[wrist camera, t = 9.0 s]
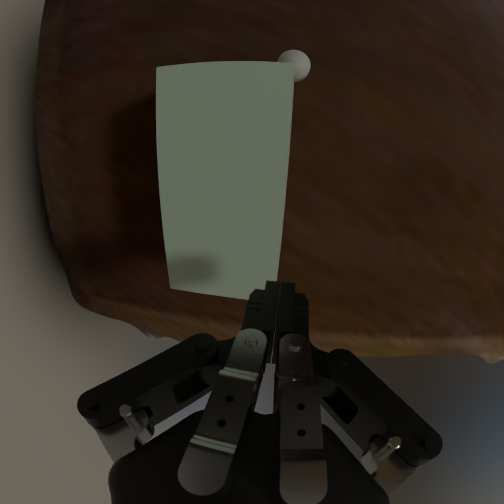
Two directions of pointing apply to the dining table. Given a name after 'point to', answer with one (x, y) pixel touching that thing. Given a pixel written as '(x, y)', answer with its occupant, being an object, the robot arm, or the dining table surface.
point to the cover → (224, 170)
